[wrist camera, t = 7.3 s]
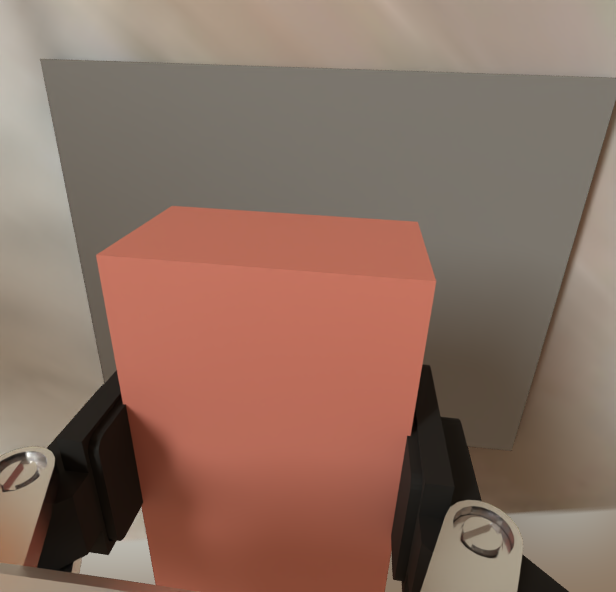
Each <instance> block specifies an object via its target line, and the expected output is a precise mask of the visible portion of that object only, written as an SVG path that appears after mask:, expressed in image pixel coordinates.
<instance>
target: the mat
mask: <svg viewBox="0 0 616 592" xmlns="http://www.w3.org/2000/svg"><path fill="white" fill-rule="evenodd" d="M40 61H41V66H42V71H43V76H44V81H45V86H46V91H47V96H48V101H49V106H50V111H51V116H52V121H53V126H54V131H55V136H56V141H57V146H58V151H59V156H60V161H61V166H62V171H63V176H64V181H65V187H66V192H67V197H68V202H69V207H70V212H71V217H72V222H73V227H74V232H75V237H76V242H77V247H78V252H79V257H80V262H81V267H82V272H83V277H84V282H85V287H86V292H87V297H88V302H89V307H90V312H91V318H92V323H93V328H94V333H95V338H96V343H97V348H98V353H99V358H100V363H101V368H102V373H103V378H104V383H106V381H107V380H108V379H109V378H110V377H111V376H112V375H113V373H114V372H115V371H116V370H117V368H116V363H115V357H114V352H113V346H112V341H111V335H110V330H109V324H108V319H107V313H106V308H105V302H104V297H103V291H102V286H101V280H100V274H99V269H98V263H97V258H96V255H97V254H98V253H100V252H101V251H103V250H105V249H106V248H108V247H109V246H111V245H112V244H114V243H115V242H117V241H118V240H120V239H122V238H123V237H125V236H126V235H128V234H129V233H131V232H132V231H134V230H135V229H137V228H139V227H140V226H142V225H143V224H145V223H146V222H148V221H149V220H151V219H152V218H154V217H156V216H157V215H159V214H160V213H162V212H163V211H165V210H166V209H168V208H169V207H171V206H182V207H198V208H213V209H228V210H244V211H259V212H275V213H290V214H305V215H321V216H336V217H352V218H367V219H383V220H398V221H413V222H418V224H419V227H420V231H421V234H422V237H423V240H424V244H425V247H426V250H427V253H428V256H429V260H430V263H431V266H432V269H433V273H434V276H435V279H436V286H435V292H434V298H433V304H432V310H431V316H430V322H429V328H428V334H427V340H426V346H425V352H424V358H423V364H424V365H430V367H431V371H432V376H433V381H434V386H435V391H436V396H437V401H438V406H439V411H440V416H441V417H448V418H458V419H459V420H460V421H461V424H462V427H463V431H464V435H465V439H466V443H467V446H469V447H479V448H488V449H498V450H507V451H512V448H513V444H514V441H515V438H516V434H517V431H518V428H519V424H520V421H521V417H522V414H523V411H524V407H525V404H526V401H527V397H528V394H529V391H530V387H531V384H532V380H533V377H534V374H535V370H536V367H537V364H538V360H539V357H540V353H541V350H542V347H543V343H544V340H545V337H546V333H547V330H548V326H549V323H550V320H551V316H552V313H553V310H554V306H555V303H556V300H557V296H558V293H559V289H560V286H561V283H562V279H563V276H564V273H565V269H566V266H567V262H568V259H569V256H570V252H571V249H572V246H573V242H574V239H575V236H576V232H577V229H578V225H579V222H580V219H581V215H582V212H583V209H584V205H585V202H586V198H587V195H588V192H589V188H590V185H591V182H592V178H593V175H594V171H595V168H596V165H597V161H598V158H599V155H600V151H601V148H602V145H603V141H604V138H605V134H606V131H607V128H608V124H609V121H610V118H611V114H612V111H613V107H614V104H615V101H616V78H606V77H575V76H545V75H515V74H484V73H454V72H423V71H393V70H362V69H332V68H301V67H271V66H240V65H210V64H179V63H149V62H118V61H88V60H57V59H40Z"/></svg>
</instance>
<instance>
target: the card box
mask: <svg viewBox="0 0 616 592" xmlns="http://www.w3.org/2000/svg"><path fill="white" fill-rule="evenodd" d="M96 258H97V263H98V269H99V274H100V280H101V286H102V291H103V297H104V302H105V308H106V313H107V319H108V324H109V330H110V335H111V341H112V346H113V352H114V357H115V363H116V368H117V374H118V379H119V385H120V390H121V396H122V401H123V404H126V408H127V414H128V420H129V425H130V431H131V436H132V442H133V448H134V453H135V459H136V465H137V470H138V476H139V481H140V487H141V493H142V498H143V504H142V512H143V517H144V523H145V528H146V534H147V539H148V545H149V550H150V556H151V561H152V567H153V572H154V578H155V583H156V585H158V586H165V587H171V588H178V589H185V590H191V591H198V592H385V586H386V580H387V574H388V568H389V562H390V556H391V550H392V548H391V533H392V526H393V520H394V514H395V508H396V502H397V496H398V489H399V483H400V477H401V471H402V465H403V459H404V452H405V446H406V440H407V436H411V430H412V424H413V418H414V412H415V406H416V400H417V394H418V388H419V382H420V376H421V370H422V364H423V358H424V352H425V346H426V340H427V334H428V328H429V322H430V316H431V310H432V304H433V298H434V292H435V286H436V279H435V276H434V273H433V269H432V266H431V263H430V260H429V256H428V253H427V250H426V247H425V244H424V240H423V237H422V234H421V231H420V227H419V224H418V222H413V221H398V220H383V219H367V218H352V217H336V216H321V215H305V214H290V213H275V212H259V211H244V210H228V209H213V208H198V207H182V206H171V207H169V208H168V209H166V210H165V211H163V212H162V213H160V214H159V215H157V216H156V217H154V218H152V219H151V220H149V221H148V222H146V223H145V224H143V225H142V226H140V227H139V228H137V229H135V230H134V231H132V232H131V233H129V234H128V235H126V236H125V237H123V238H122V239H120V240H118V241H117V242H115V243H114V244H112V245H111V246H109V247H108V248H106V249H105V250H103V251H101V252H100V253H98V254H97V255H96Z"/></svg>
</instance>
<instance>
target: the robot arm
mask: <svg viewBox="0 0 616 592" xmlns="http://www.w3.org/2000/svg"><path fill="white" fill-rule="evenodd" d="M142 504H143V498H142V493H141V487H140V481H139V476H138V470H137V465H136V459H135V453H134V448H133V442H132V436H131V431H130V425H129V420H128V414H127V408H126V404H123V401H122V396H121V390H120V385H119V379H118V374H117V370H116V371H115V372H114V373H113V375H112V376H111V377H110V378H109V379H108V380H107V381H106V383H105V384H103V385H102V386H101V387H100V388H99V389H98V391H97V392H96V393H95V394H94V395H93V396H92V397H91V399H90V400H89V401H88V402H87V403H86V404H85V405H84V407H83V408H82V409H81V410H80V411H79V412H78V413H77V414H76V416H75V417H74V418H73V419H72V420H71V421H70V422H69V424H68V425H67V426H66V427H65V428H64V429H63V430H62V432H61V433H60V434H59V435H58V436H57V437H56V438H55V440H54V441H53V442H52V443H51V444H50V445H49V446H48V447H47V448H44V447H39V446H31V447H23V448H19V449H15V450H13V451H10V452H8V453H5V454H3V455H2V456H0V592H198V591H191V590H185V589H178V588H171V587H165V586H158V585H151V584H145V583H138V582H131V581H124V580H118V579H111V578H104V577H97V576H90V575H83V574H79V572H80V567H81V561H82V560H81V558H82V557H84V556H85V555H87V554H88V553H89V552H92V553H99V554H105V555H109V553H110V551H111V550H112V548H113V546H114V544H115V542H116V541H121V540H122V539H123V538H124V537H125V536H126V534H127V532H128V530H129V528H130V526H131V525H132V523H133V521H134V519H135V517H136V515H137V513H138V512H139V510H140V508H141V506H142ZM391 548H392V572H393V579H394V580H398V581H402V592H568V591H567V590H566V589H565V588H564V587H562V586H561V585H560V584H558V583H557V582H556V581H555V580H554V579H552V578H551V577H550V576H549V575H547V574H546V573H545V572H544V571H542V570H541V569H540V568H539V567H537V566H536V565H535V564H533V563H532V562H531V561H530V560H529V559H528V558H526V557H525V556H524V555H523V554H522V553H523V538H522V536H521V533H520V531H519V529H518V527H517V526H516V524H515V523H514V522H513V520H512V519H511V518H510V517H509V516H508V515H506V514H505V513H504V512H503V511H502V510H500V509H498V508H496V507H495V506H493V505H491V504H488V503H485V502H482V501H481V497H480V493H479V489H478V486H477V482H476V478H475V474H474V470H473V466H472V462H471V458H470V454H469V450H468V447H467V443H466V439H465V435H464V431H463V427H462V424H461V421H460V420H459V419H458V418H448V417H441V416H440V411H439V406H438V401H437V396H436V391H435V386H434V381H433V376H432V371H431V367H430V365H424V364H422V370H421V376H420V382H419V388H418V394H417V400H416V406H415V412H414V418H413V424H412V430H411V436H407V440H406V446H405V452H404V459H403V465H402V471H401V477H400V483H399V489H398V496H397V502H396V508H395V514H394V520H393V526H392V533H391Z"/></svg>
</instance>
